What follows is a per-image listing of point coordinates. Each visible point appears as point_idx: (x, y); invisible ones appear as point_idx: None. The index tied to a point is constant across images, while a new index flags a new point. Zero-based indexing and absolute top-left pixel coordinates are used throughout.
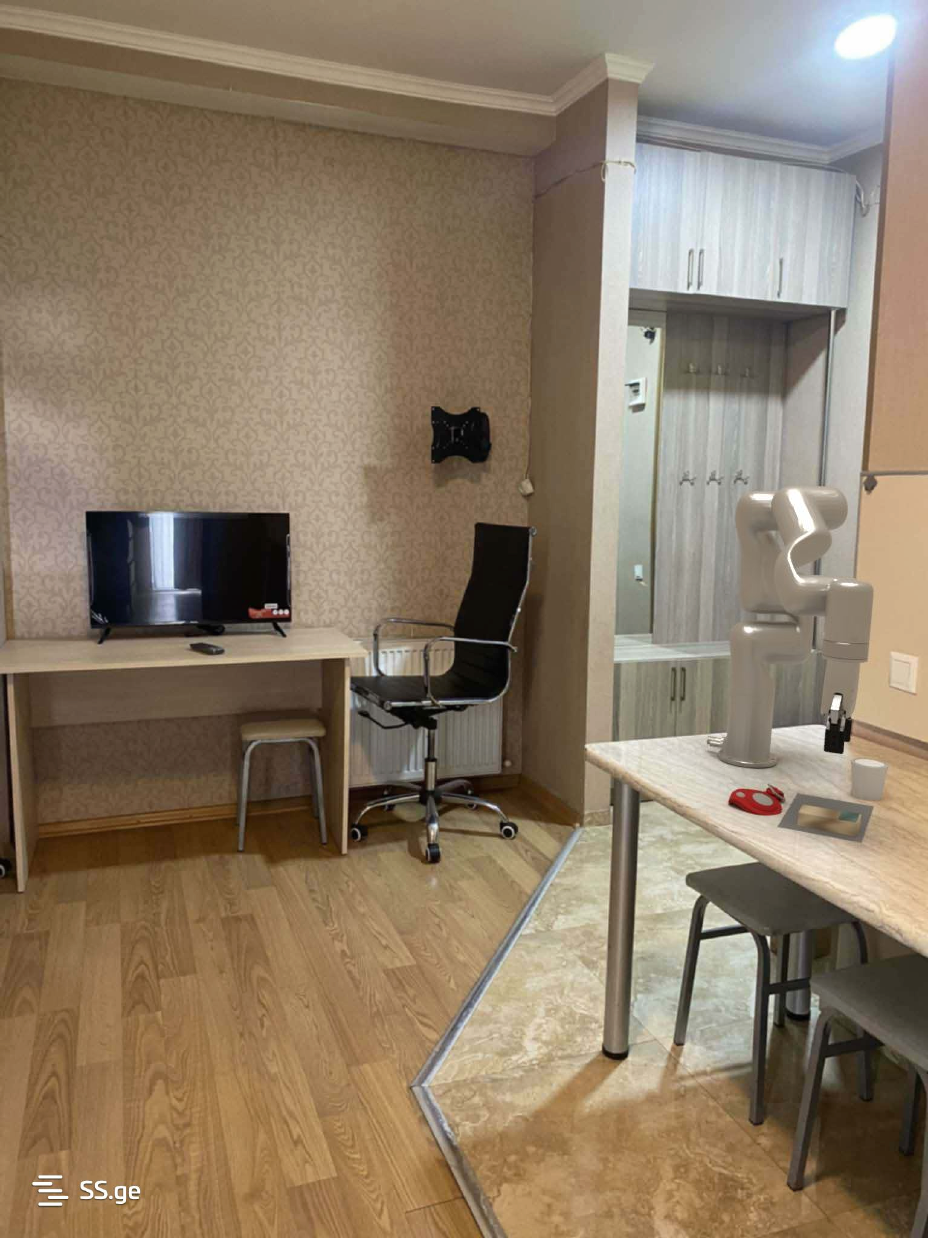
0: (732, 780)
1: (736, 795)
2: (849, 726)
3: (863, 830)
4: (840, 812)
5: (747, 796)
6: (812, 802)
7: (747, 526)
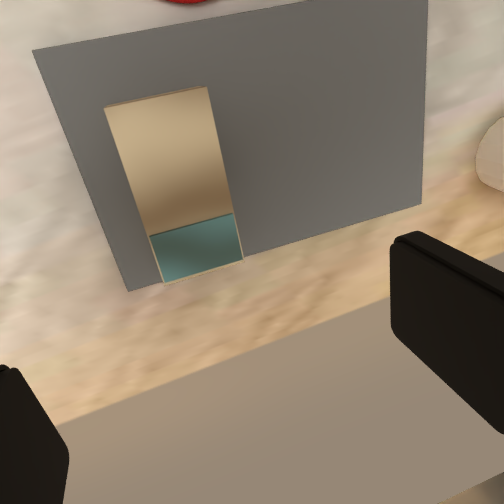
0: None
1: None
2: (473, 401)
3: None
4: (220, 214)
5: None
6: (364, 59)
7: None
